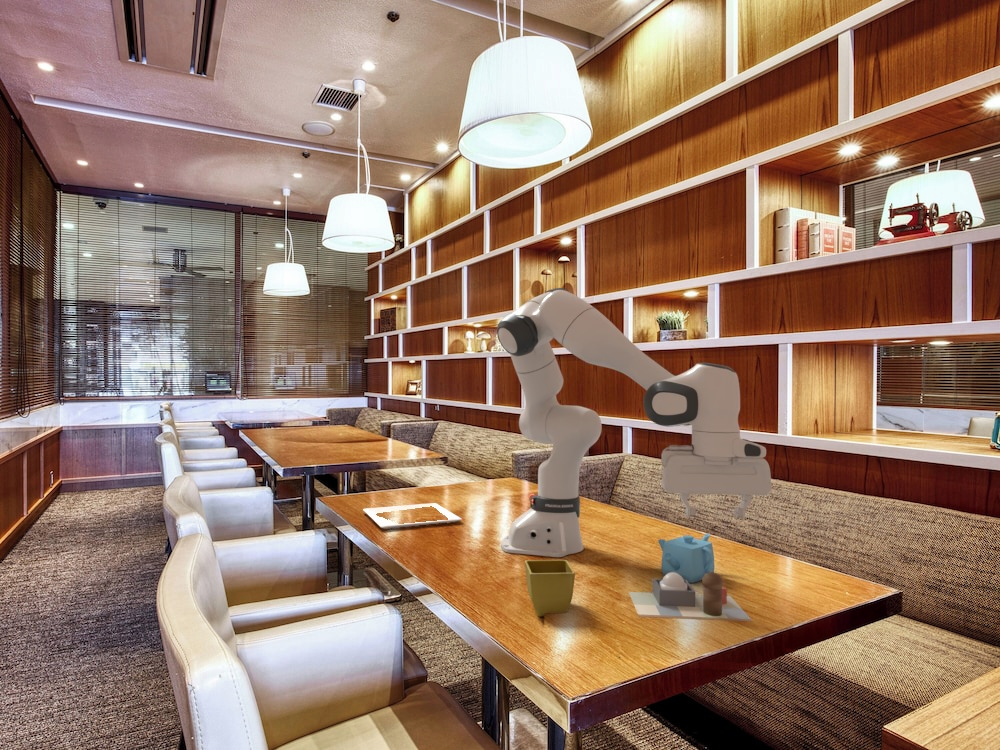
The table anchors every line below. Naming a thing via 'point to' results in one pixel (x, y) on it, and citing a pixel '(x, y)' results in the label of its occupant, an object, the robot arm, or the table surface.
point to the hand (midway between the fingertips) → (714, 516)
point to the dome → (673, 582)
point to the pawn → (712, 594)
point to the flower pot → (550, 585)
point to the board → (681, 605)
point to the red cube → (724, 595)
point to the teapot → (687, 557)
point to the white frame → (389, 524)
